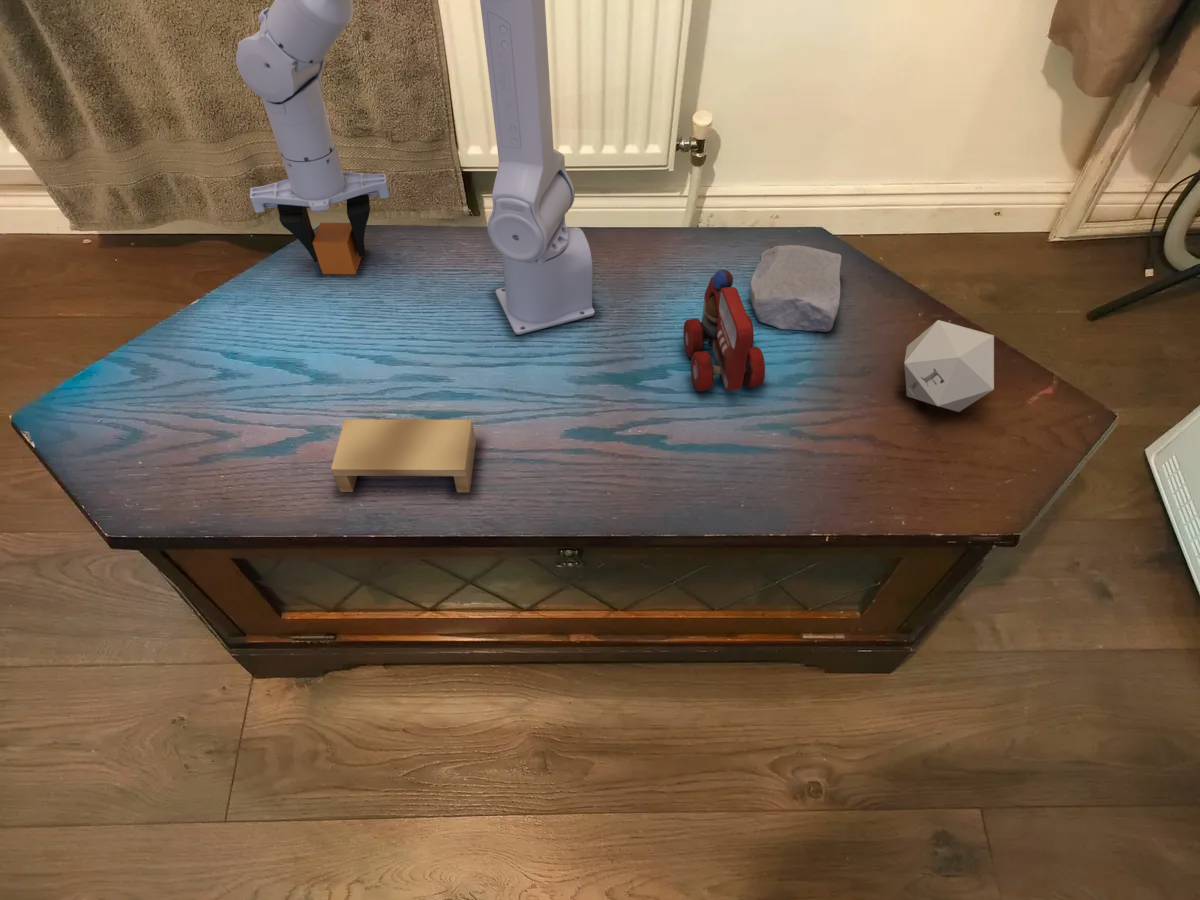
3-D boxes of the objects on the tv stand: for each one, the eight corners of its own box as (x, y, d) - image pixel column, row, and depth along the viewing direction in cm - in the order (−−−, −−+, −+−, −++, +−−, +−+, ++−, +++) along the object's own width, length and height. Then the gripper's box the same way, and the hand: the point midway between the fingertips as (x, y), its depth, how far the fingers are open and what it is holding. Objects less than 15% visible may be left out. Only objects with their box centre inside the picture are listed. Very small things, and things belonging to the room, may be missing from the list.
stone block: (748, 336, 88) (839, 336, 86) (746, 302, 85) (841, 300, 82) (756, 275, 96) (840, 273, 93) (754, 242, 93) (842, 238, 90)
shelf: (476, 443, 76) (472, 419, 73) (469, 492, 72) (465, 469, 69) (353, 442, 76) (344, 418, 73) (340, 492, 72) (330, 469, 69)
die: (878, 368, 84) (889, 349, 74) (951, 318, 83) (972, 293, 73) (927, 432, 82) (946, 421, 73) (1002, 382, 81) (1031, 365, 71)
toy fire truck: (738, 324, 87) (753, 246, 79) (765, 404, 79) (785, 328, 71) (677, 328, 87) (686, 250, 79) (698, 409, 79) (710, 333, 71)
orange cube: (362, 254, 95) (354, 222, 91) (356, 274, 92) (347, 242, 89) (329, 253, 95) (320, 222, 91) (322, 274, 92) (311, 242, 89)
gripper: (233, 175, 78) (275, 283, 89) (379, 160, 80) (403, 267, 91) (237, 140, 82) (277, 246, 93) (376, 126, 85) (399, 232, 95)
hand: (339, 254), depth 92 cm, fingers closed on orange cube, 4 cm apart
